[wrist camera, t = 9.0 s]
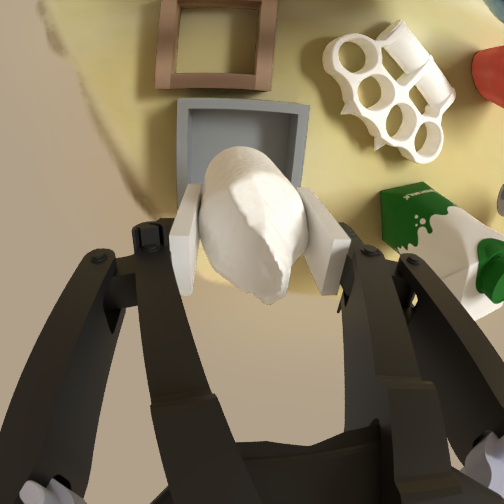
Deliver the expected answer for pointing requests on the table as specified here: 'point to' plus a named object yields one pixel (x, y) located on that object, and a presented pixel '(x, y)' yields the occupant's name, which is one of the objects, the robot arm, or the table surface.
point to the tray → (238, 135)
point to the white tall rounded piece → (251, 222)
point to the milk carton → (447, 244)
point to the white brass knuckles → (395, 89)
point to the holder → (259, 81)
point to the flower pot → (490, 74)
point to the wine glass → (501, 202)
